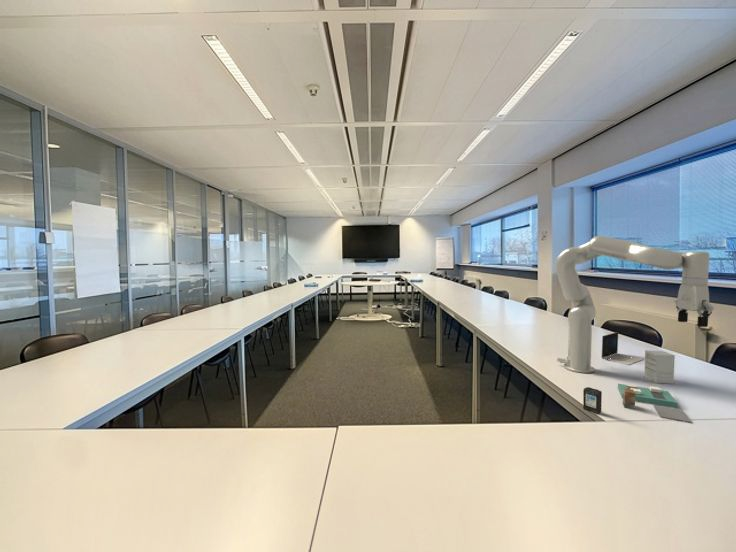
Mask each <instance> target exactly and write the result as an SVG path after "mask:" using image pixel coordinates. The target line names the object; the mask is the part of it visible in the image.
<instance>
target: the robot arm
mask: <svg viewBox="0 0 736 552" xmlns="http://www.w3.org/2000/svg"><path fill="white" fill-rule="evenodd" d="M600 256H603V257H609V258H614V259H619V260H622V261H627V262H631V263H637V264H642V265H645V266H650V267H654V268H660V269H663V270H668V271H669V270H674V269H682V272H681V274H682V275H681V284H680V286H679V289H678V294H677V300H675V301H674V303H675V307H676V309H677V311H676V312H677V322H679V323H688V317H689V316H688V315H689V312H688V311H691V312H696V313H697V314H698V316H697V320H696V321H697V325H696V326H697V327H700V328H708V325H709V318H710V317H711V315H712V313H713V310H714V309H715V307H714V306H713V305H712V304H710V291H709V271H710V253H709V252H707V251H686V252H683V251H673V250H669V249H668V250H667V249H662V248H657V247H652V246H649V245H648V246H647V245H644V244H640V243H638V242H635V241H630V240H623V239H620V238H614V237H610V236H609V237H608V236H605V235H595V236H594V237H592V238H590V239H589V241H588V242H586V243H583V244H582V245H579V246H577V247H568V248H566V249H564V250H562V251H561V252H560V253H559V254H558V256H557V258H556V260H555V263H554V264H555V265H554V266H555V271H556V272H555V273H556V274H557V279H558V282H559V286H560V289H561V291H562V294H563V298H564V299H565V301H567V302H568V303H571V304H570V305H571V309H569V311H568V314H567V322H568V348H567V357H564V358H561V357H557V359H556V361H557V362H560V363H559V364H564V365H563V367H564V368H565V369H566V370H568V371H571V372H575V373H582V374H590V373H594V372H595V368H594V366H591V365H592V359H591V358H592V335H593V334H592V332H593V331H592V321H593V320H594V319H595V318H596V315H597V312H596V307H595V305H594V301H593V299H592V296H591V292H590V290H589V288H588V287H587V286H586V285H585V284H583V283H581V281H580V278H579V274H578V272H577V268H576V265H582V264H585V263H587V262H589V261H591V260H594V259H596V258H598V257H600Z"/></svg>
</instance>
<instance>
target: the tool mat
mask: <svg viewBox="0 0 736 552" xmlns="http://www.w3.org/2000/svg"><path fill="white" fill-rule="evenodd" d="M652 405H653V408H654V410H655V411H656V412H657V414H658V416H659V418H662V419H667V420H672V419H673V421H678V420H679V422H683V421H685V423H689V422H691V423H690V424H693V421H692V420H691V419H690V418H689V416H688V415H687V414H686V413H685V411H684V410H683V409H679V408H673V407H668V406H662V405H656V404H652Z"/></svg>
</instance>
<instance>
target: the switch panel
mask: <svg viewBox="0 0 736 552" xmlns="http://www.w3.org/2000/svg"><path fill="white" fill-rule="evenodd" d="M623 388H626V389H630V388H633V389H640V390H641V395H640V394H635V402H639V403H645V404H652V405H657V406H663V407H669V408H674V409H678V402H677V401H676V399H675V398H674V397H673V395H672V394H671V393H670V391H669V390H664V389H663V390H662V389H661V393H658V392H652V391H650V387H643V386H636V385H630V384H624V383H623V384H622V383H617V390H618V392H619V395H620V398H621V399H622V400H623Z"/></svg>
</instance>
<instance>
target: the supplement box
mask: <svg viewBox="0 0 736 552" xmlns="http://www.w3.org/2000/svg"><path fill="white" fill-rule="evenodd" d="M675 357H676V356H675V354H673V353H669V352H667V351H663V350H644V372H643V373H644V374H643V375H644V378H646V379H647V380H649V381H651V382H653V383H655V384H674V383H675V382H674V380H675V359H676V358H675Z"/></svg>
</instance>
